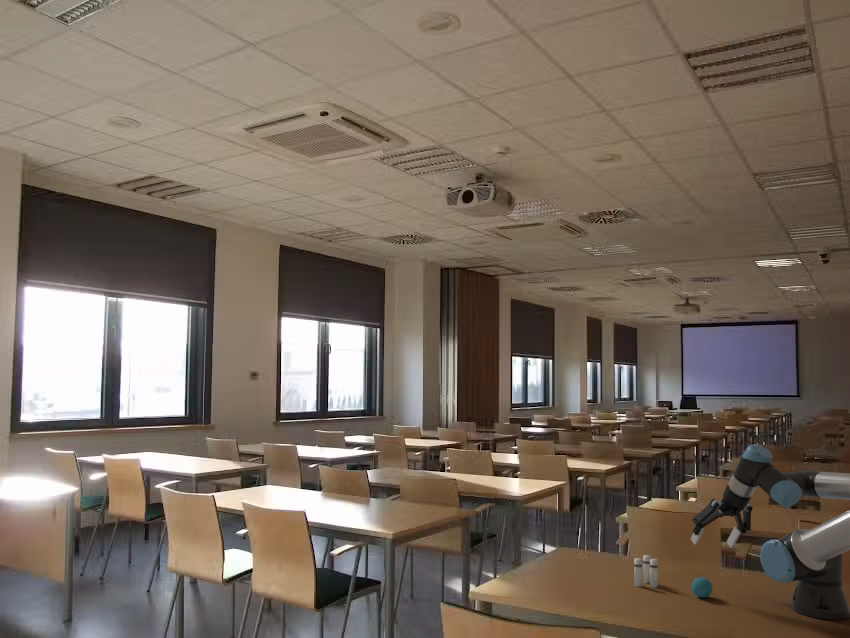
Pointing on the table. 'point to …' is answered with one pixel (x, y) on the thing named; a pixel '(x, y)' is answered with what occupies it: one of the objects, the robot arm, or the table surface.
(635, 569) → the pin
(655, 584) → the front pin
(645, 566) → the pin
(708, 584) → the ball
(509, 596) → the table surface
